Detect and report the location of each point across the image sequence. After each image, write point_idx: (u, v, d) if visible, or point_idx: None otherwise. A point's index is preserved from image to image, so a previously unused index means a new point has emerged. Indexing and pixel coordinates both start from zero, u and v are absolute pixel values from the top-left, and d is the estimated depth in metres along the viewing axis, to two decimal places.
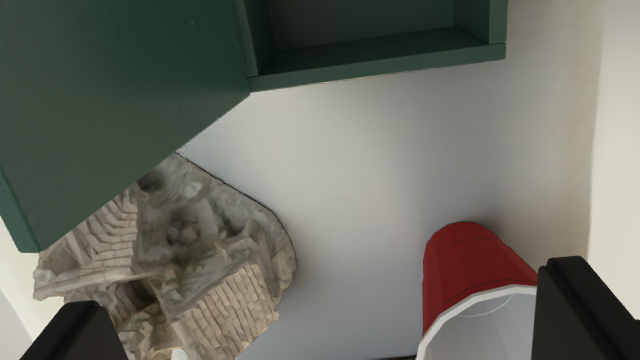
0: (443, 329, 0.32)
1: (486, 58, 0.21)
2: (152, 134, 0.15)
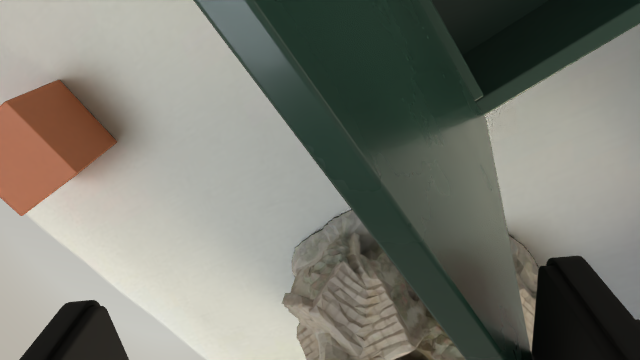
0: None
1: None
2: (494, 213, 0.12)
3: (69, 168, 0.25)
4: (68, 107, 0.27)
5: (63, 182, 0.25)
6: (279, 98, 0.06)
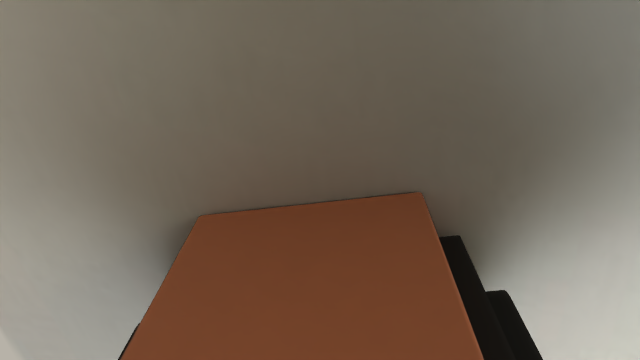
0: None
1: None
2: None
3: None
4: (263, 239, 0.09)
5: None
6: None
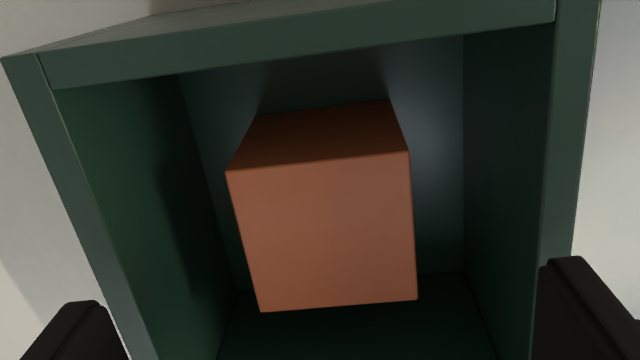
0: None
1: (591, 23, 0.08)
2: None
3: (391, 157, 0.12)
4: (297, 121, 0.15)
5: (408, 188, 0.12)
6: None
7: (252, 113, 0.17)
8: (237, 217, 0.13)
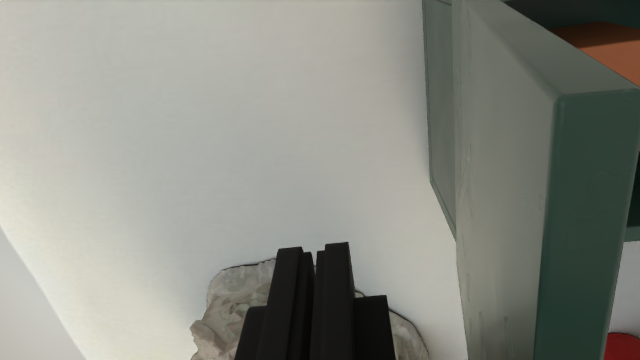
0: None
1: None
2: None
3: None
4: None
5: None
6: None
7: (605, 19, 0.22)
8: (633, 42, 0.18)
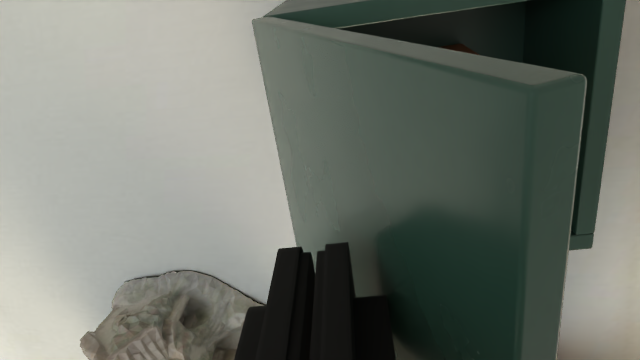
0: None
1: (571, 247, 0.20)
2: None
3: None
4: None
5: None
6: None
7: (463, 41, 0.23)
8: None
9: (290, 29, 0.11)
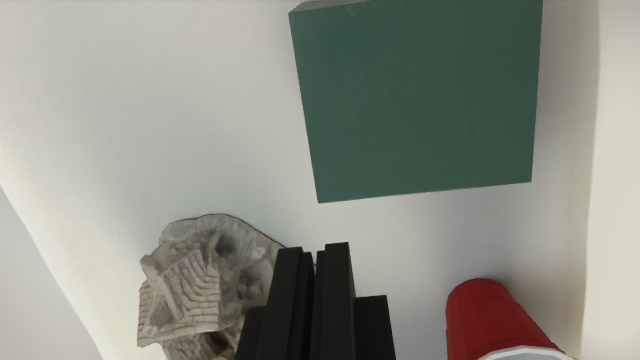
0: None
1: None
2: None
3: None
4: None
5: None
6: None
7: None
8: None
9: None
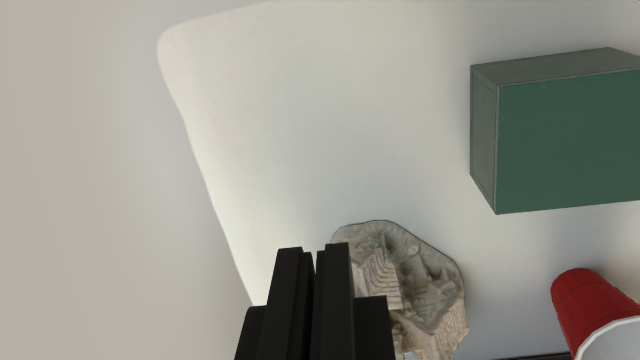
0: None
1: None
2: None
3: None
4: None
5: None
6: None
7: None
8: None
9: (564, 79, 0.35)
